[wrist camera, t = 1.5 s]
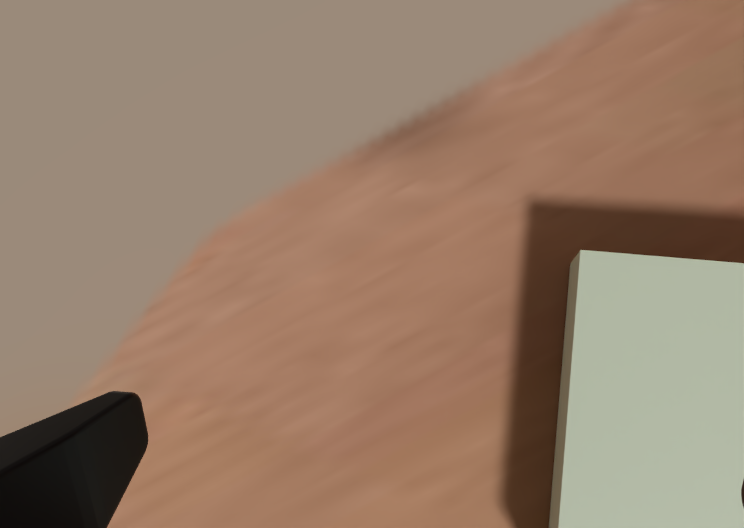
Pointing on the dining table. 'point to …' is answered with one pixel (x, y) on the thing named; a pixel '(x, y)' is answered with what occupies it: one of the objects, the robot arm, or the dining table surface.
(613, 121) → the dining table surface
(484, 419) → the dining table surface
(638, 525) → the plinth
